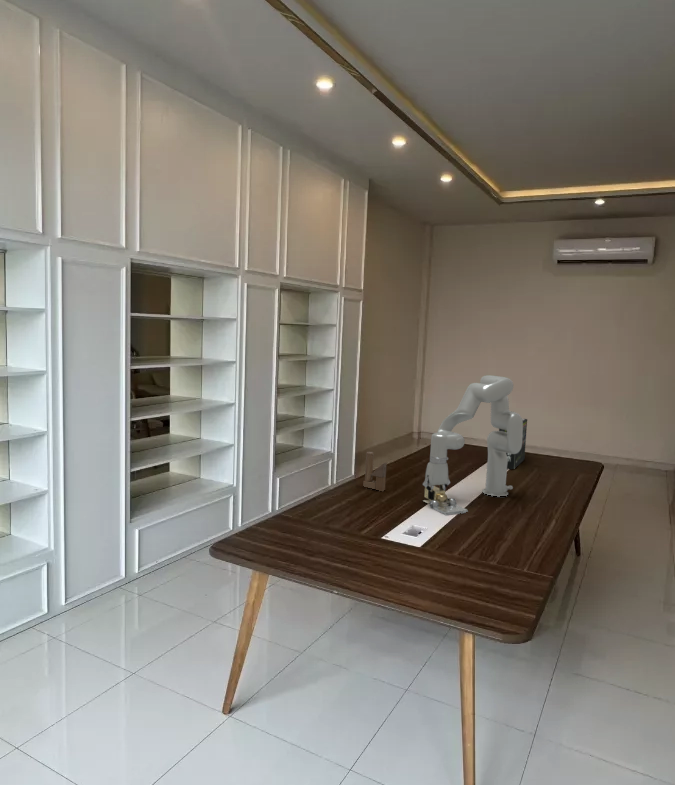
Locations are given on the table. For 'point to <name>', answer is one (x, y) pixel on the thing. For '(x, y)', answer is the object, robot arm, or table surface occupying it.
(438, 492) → the brass knob plate
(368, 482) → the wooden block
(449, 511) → the hinge base
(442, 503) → the pad
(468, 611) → the table surface
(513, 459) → the router box
